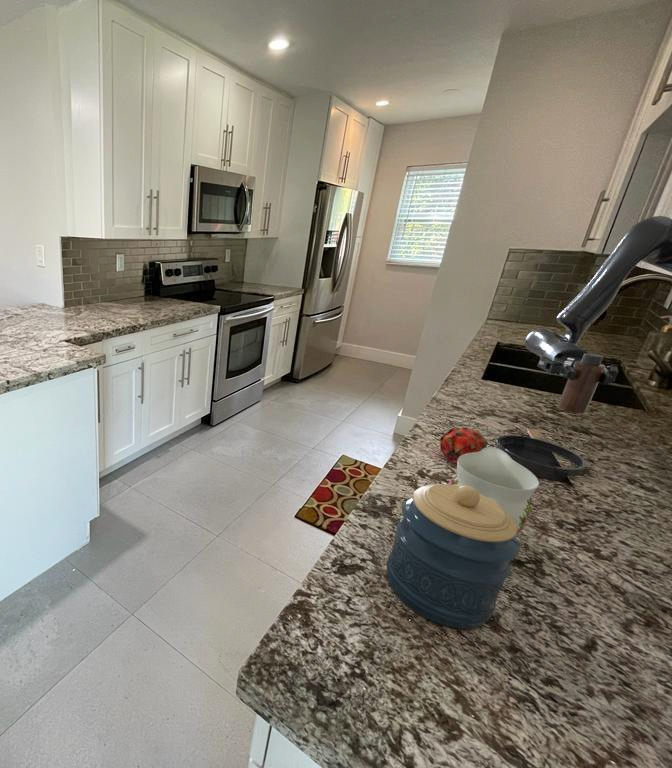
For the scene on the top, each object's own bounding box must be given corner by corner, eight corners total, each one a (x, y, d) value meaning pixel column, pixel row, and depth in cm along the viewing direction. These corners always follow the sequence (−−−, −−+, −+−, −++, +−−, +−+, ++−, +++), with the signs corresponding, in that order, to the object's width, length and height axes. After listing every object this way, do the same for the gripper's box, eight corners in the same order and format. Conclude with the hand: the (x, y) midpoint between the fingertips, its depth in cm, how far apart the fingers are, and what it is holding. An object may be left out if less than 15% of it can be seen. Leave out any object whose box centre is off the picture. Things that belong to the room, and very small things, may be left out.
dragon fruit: (470, 459, 97) (448, 482, 91) (442, 430, 100) (419, 450, 94) (503, 443, 91) (482, 467, 84) (472, 413, 94) (450, 434, 87)
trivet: (585, 442, 103) (587, 439, 103) (603, 464, 94) (605, 460, 93) (525, 431, 109) (526, 427, 109) (535, 450, 99) (537, 446, 99)
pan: (568, 459, 95) (573, 445, 94) (590, 492, 83) (597, 477, 82) (487, 442, 103) (492, 429, 101) (497, 470, 90) (502, 456, 89)
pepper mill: (581, 407, 96) (604, 354, 91) (589, 414, 92) (613, 359, 87) (555, 403, 98) (575, 350, 93) (560, 410, 94) (582, 355, 89)
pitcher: (430, 557, 65) (454, 484, 60) (437, 501, 79) (457, 438, 74) (519, 591, 59) (553, 513, 54) (509, 524, 73) (536, 457, 68)
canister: (514, 619, 55) (563, 510, 49) (440, 643, 51) (482, 530, 45) (429, 550, 66) (460, 456, 60) (364, 566, 63) (390, 467, 57)
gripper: (535, 340, 105) (553, 356, 91) (611, 348, 99) (643, 367, 85) (525, 367, 108) (541, 387, 94) (599, 378, 101) (628, 400, 87)
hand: (589, 378), depth 90 cm, fingers closed on pepper mill, 5 cm apart
